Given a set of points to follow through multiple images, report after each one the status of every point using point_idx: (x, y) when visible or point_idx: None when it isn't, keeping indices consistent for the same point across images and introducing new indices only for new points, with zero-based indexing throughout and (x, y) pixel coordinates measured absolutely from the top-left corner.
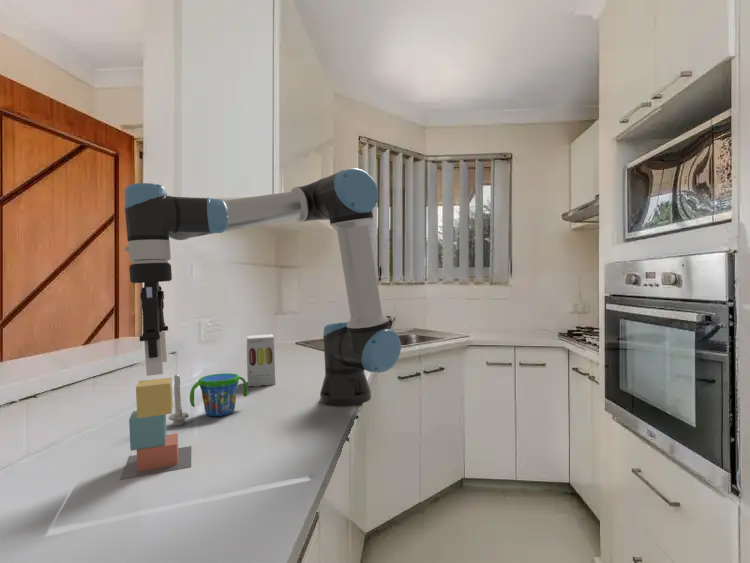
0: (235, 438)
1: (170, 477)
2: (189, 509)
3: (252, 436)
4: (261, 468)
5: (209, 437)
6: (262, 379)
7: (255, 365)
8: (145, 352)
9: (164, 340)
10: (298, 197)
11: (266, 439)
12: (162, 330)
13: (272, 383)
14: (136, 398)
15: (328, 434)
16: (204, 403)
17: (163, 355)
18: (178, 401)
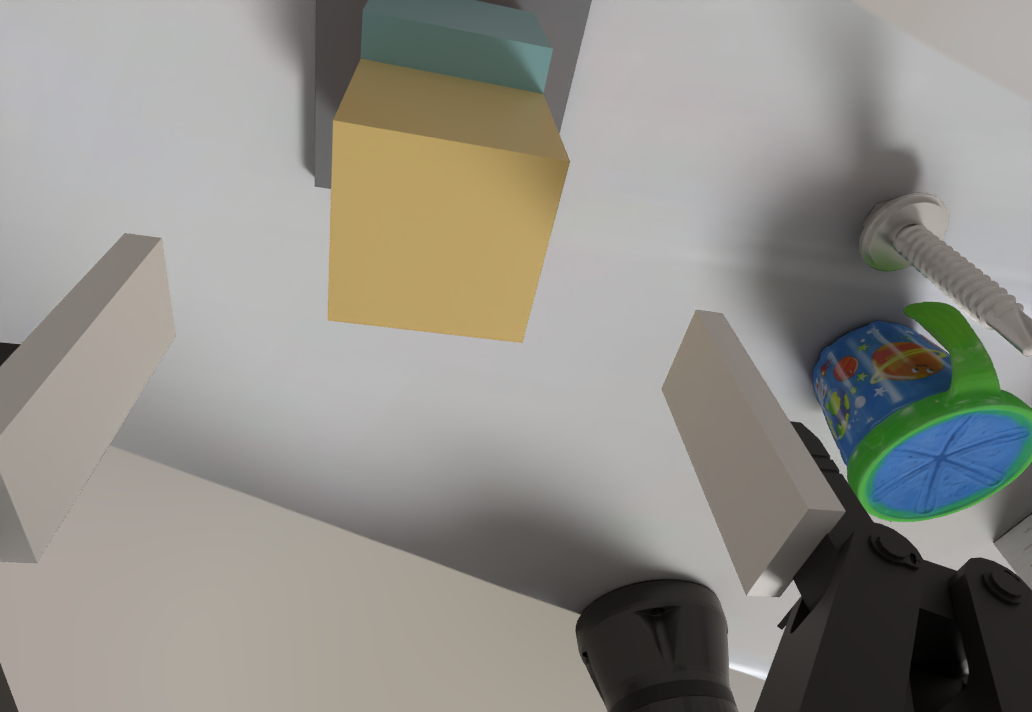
0: (544, 348)
1: (291, 106)
2: None
3: (525, 390)
4: (231, 354)
5: (622, 285)
6: None
7: None
8: (17, 354)
9: (717, 515)
10: None
11: (467, 413)
12: (803, 594)
13: (1003, 542)
14: (345, 94)
15: (399, 527)
16: (906, 345)
17: (681, 407)
18: (935, 270)
